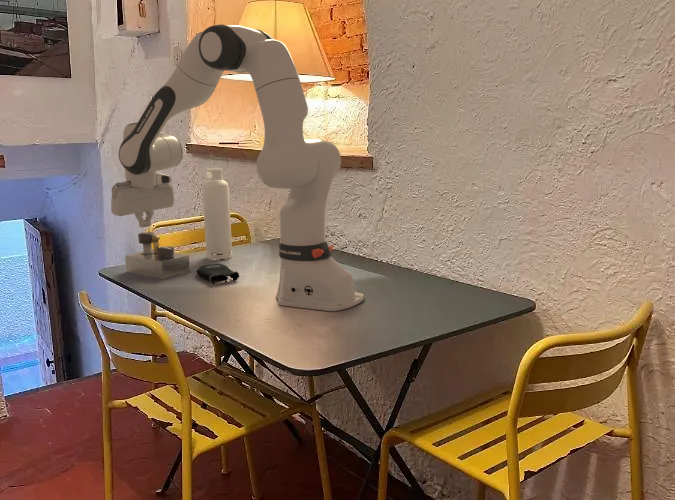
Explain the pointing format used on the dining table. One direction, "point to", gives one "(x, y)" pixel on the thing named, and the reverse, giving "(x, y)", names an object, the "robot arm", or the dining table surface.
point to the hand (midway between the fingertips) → (145, 226)
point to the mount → (157, 265)
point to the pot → (155, 244)
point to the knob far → (146, 241)
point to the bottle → (217, 215)
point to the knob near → (165, 252)
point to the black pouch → (216, 271)
